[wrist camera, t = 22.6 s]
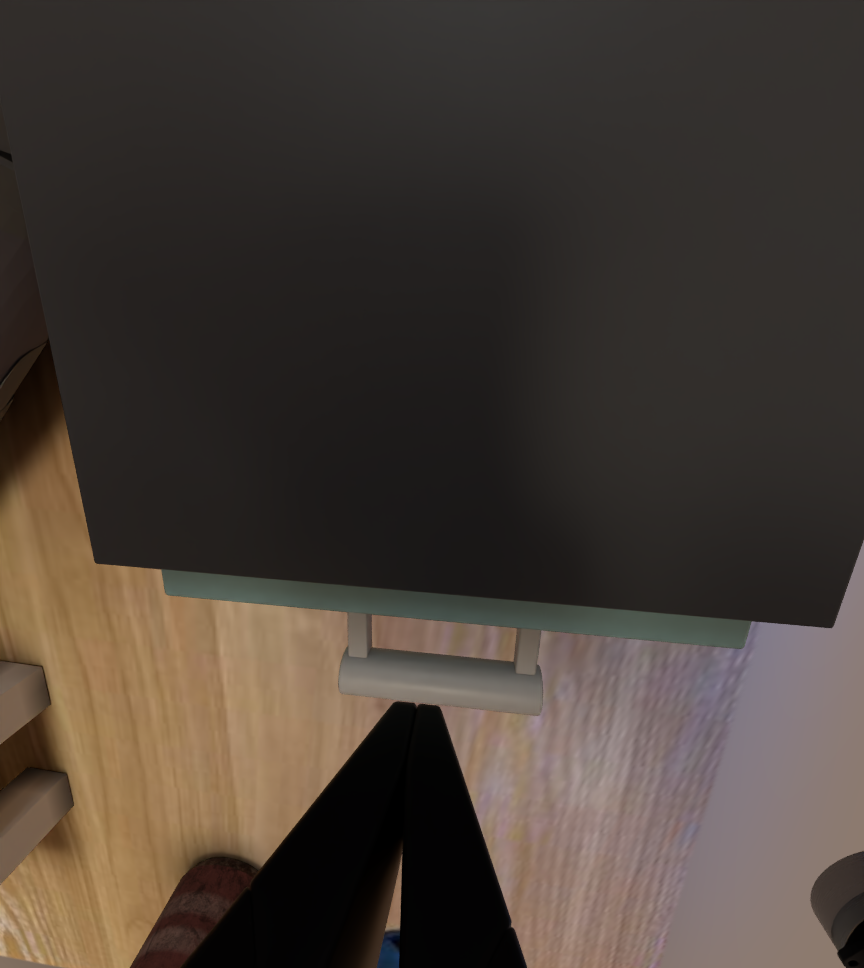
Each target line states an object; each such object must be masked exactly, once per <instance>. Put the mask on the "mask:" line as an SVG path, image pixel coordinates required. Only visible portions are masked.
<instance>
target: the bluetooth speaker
mask: <svg viewBox="0 0 864 968" xmlns="http://www.w3.org/2000/svg"><path fill="white" fill-rule="evenodd" d="M48 340H49V337H48V332H47V327H46V322H45V317H44V312H43V307H42V302H41V298H40V293H39V288H38V283H37V278H36V273H35V268H34V263H33V259H32V254H31V249H30V244H29V239H28V234H27V229H26V224H25V220H24V215H23V210H22V205H21V200H20V195H19V190H18V185H17V181H16V176H15V171H14V166H13V161H12V156H11V151H10V146H9V142H8V137H7V132H6V127H5V122H4V117H3V112H2V107H1V103H0V421H1V419H2V418H3V416H4V415H5V413H6V412H7V410H8V408H9V406H10V404H11V403H12V401H13V397H14V393H15V391H16V390H17V388H18V387H19V385H20V384H21V382H22V381H23V379H24V378H25V376H26V374H27V373H28V371H29V370H30V368H31V367H32V365H33V364H34V362H35V360H36V359H37V357H38V356H39V354H40V353H41V351H42V350H43V348H44V346H45V345H46V343H47V342H48Z"/></svg>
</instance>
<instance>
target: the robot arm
mask: <svg viewBox="0 0 864 968" xmlns="http://www.w3.org/2000/svg"><path fill="white" fill-rule="evenodd" d="M402 849H403V850H402ZM401 855H402V886H401V921H400V956H399V968H527V965H526V962H525V959H524V956H523V953H522V950H521V947H520V944H519V941H518V938H517V935H516V932H515V930H514V928H512V927H511V918H510V915H509V912H508V909H507V906H506V903H505V900H504V897H503V894H502V891H501V888H500V885H499V882H498V879H497V876H496V873H495V870H494V867H493V864H492V861H491V858H490V855H489V852H488V849H487V846H486V843H485V840H484V837H483V834H482V831H481V828H480V825H479V822H478V819H477V816H476V813H475V810H474V807H473V804H472V801H471V798H470V795H469V792H468V789H467V786H466V783H465V780H464V777H463V774H462V771H461V768H460V765H459V762H458V759H457V756H456V753H455V750H454V747H453V744H452V741H451V738H450V735H449V732H448V729H447V726H446V723H445V720H444V717H443V714H442V711H441V709H440V707H439V706H436V705H427V704H419V705H418V706H416V704H414V703H409V702H400V701H396V702H394V703H393V704H392V705H391V707H390V708H389V709H388V710H387V712H386V713H385V714H384V715H383V717H382V718H381V719H380V720H379V722H378V723H377V724H376V725H375V727H374V728H373V729H372V730H371V732H370V733H369V734H368V735H367V737H366V738H365V739H364V740H363V742H362V743H361V744H360V745H359V747H358V748H357V749H356V750H355V752H354V753H353V754H352V755H351V757H350V758H349V759H348V760H347V762H346V763H345V764H344V765H343V767H342V768H341V769H340V770H339V772H338V773H337V774H336V775H335V777H334V778H333V779H332V780H331V782H330V783H329V784H328V785H327V787H326V788H325V789H324V790H323V792H322V793H321V794H320V795H319V797H318V798H317V799H316V800H315V802H314V803H313V804H312V805H311V807H310V808H309V809H308V810H307V812H306V813H305V814H304V815H303V817H302V818H301V819H300V820H299V822H298V823H297V824H296V825H295V827H294V828H293V829H292V830H291V832H290V833H289V834H288V835H287V837H286V838H285V839H284V840H283V842H282V843H281V844H280V845H279V847H278V848H277V849H276V850H275V852H274V853H273V854H272V855H271V857H270V858H269V859H268V860H267V862H266V863H265V864H264V865H263V867H262V868H261V869H260V870H259V872H258V873H257V874H256V875H255V877H254V878H253V879H252V880H251V882H250V888H249V887H246V888H245V889H244V890H243V891H242V892H241V894H240V895H239V896H238V897H237V899H236V900H235V901H234V902H233V904H232V905H231V906H230V907H229V909H228V910H227V911H226V912H225V914H224V915H223V916H222V917H221V919H220V920H219V921H218V922H217V923H216V925H215V926H214V927H213V928H212V929H211V931H210V932H209V933H208V934H207V935H206V937H205V938H204V939H203V940H202V941H201V943H200V944H199V945H198V946H197V947H196V949H195V950H194V951H193V952H192V953H191V955H190V956H189V957H188V958H187V959H186V961H185V962H184V963H183V964H182V965H181V967H180V968H377V963H378V959H379V954H380V950H381V946H382V941H383V937H384V932H385V928H386V923H387V919H388V915H389V910H390V906H391V901H392V897H393V892H394V888H395V883H396V879H397V875H398V870H399V865H400V860H401ZM837 955H838V957H839V959H840V960H841V962H842V963H843V965H844V966H845V967H846V968H864V934H863V935H861V936H860V937H858V938H857V939H855V940H854V941H852V942H851V943H849V944H847V945H846V946H844V947H843V948H841V949H840V950H839V951H838V952H837Z"/></svg>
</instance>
